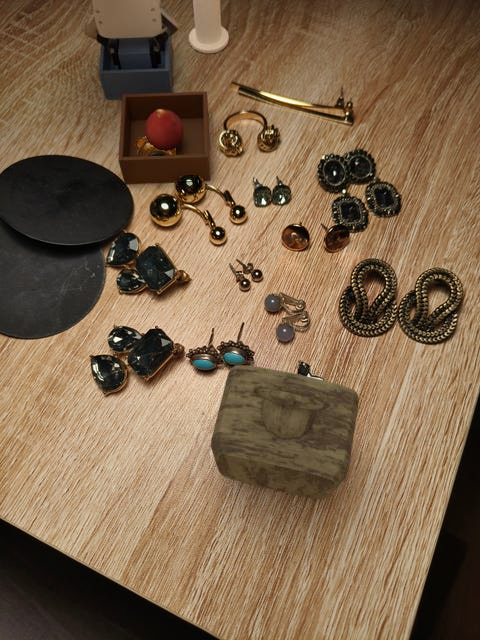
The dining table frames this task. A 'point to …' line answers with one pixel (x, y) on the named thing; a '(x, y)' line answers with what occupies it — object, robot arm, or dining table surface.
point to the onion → (164, 130)
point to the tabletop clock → (284, 431)
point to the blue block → (134, 53)
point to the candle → (208, 27)
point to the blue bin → (136, 75)
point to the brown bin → (188, 153)
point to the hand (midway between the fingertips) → (138, 65)
